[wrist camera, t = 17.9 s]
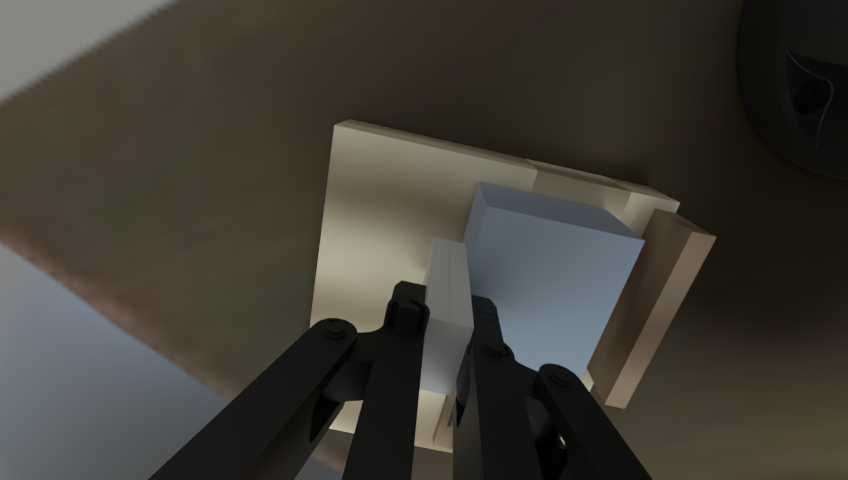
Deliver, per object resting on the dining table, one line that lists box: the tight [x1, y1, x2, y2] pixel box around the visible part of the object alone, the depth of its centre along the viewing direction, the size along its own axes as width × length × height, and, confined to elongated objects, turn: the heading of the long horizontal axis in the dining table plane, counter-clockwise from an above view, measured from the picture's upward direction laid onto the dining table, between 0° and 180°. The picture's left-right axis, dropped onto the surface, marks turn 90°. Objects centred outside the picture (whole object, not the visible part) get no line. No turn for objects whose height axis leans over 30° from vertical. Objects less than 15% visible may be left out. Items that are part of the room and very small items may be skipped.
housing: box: [462, 181, 645, 380], centre depth 18 cm, size 8×6×4 cm
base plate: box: [310, 119, 717, 453], centre depth 21 cm, size 18×16×6 cm
